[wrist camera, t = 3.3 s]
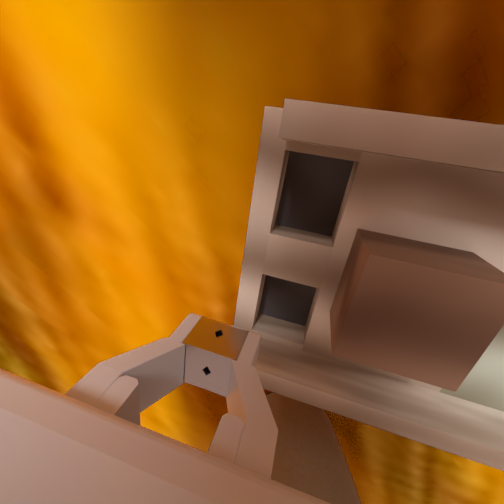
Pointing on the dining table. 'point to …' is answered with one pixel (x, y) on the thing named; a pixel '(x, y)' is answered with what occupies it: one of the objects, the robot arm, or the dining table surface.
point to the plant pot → (309, 452)
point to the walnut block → (416, 308)
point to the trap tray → (339, 245)
